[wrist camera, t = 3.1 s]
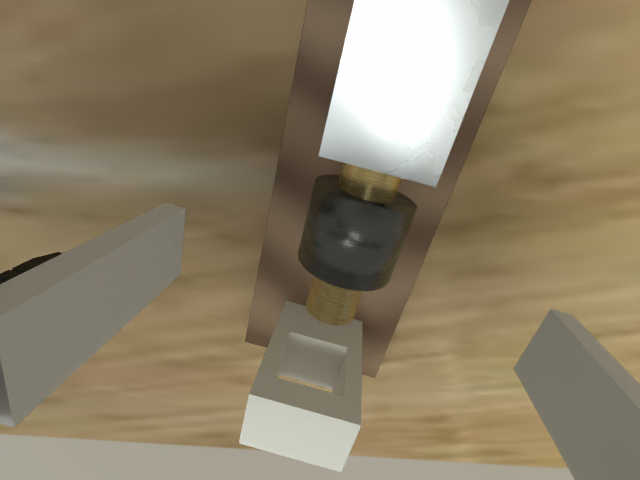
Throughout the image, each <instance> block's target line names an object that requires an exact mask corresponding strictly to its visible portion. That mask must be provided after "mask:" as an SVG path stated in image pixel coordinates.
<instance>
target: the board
mask: <svg viewBox="0 0 640 480" xmlns="http://www.w3.org/2000/svg"><path fill="white" fill-rule="evenodd" d="M354 1H355V0H308V3H307V9H306V14H305V19H304V25H303V30H302V36H301V41H300V46H299V52H298V57H297V63H296V68H295V74H294V79H293V84H292V90H291V95H290V101H289V106H288V112H287V117H286V122H285V128H284V133H283V139H282V144H281V149H280V155H279V160H278V166H277V171H276V177H275V182H274V187H273V193H272V198H271V204H270V209H269V214H268V220H267V225H266V231H265V236H264V242H263V247H262V252H261V258H260V263H259V269H258V274H257V280H256V285H255V290H254V296H253V301H252V307H251V312H250V317H249V323H248V328H247V334H246V339H245V342H248V343H252V344H255V345H259V346H263V347H266V348H267V347H268V345H269V342H270V340H271V337H272V335H273V332H274V330H275V327H276V324H277V322H278V319H279V317H280V314H281V312H282V309H283V307H284V304H285V301H286V300H287V301H290V302H294V303H297V304H301V305H305V306H306V302H307V298H308V294H309V290H310V287H311V283H312V279H313V275H312V274H310V273H309V272H308V271H307V270H306V269H305V268H304V267H303V266H302V265H301V263H300V261H299V259H298V250H299V246H300V242H301V238H302V233H303V229H304V225H305V221H306V216H307V212H308V208H309V204H310V200H311V195H312V191H313V187H314V183H315V179H316V177H318V176H321V175H340V174H341V170H342V166H343V162H339V161H335V160H331V159H328V158H324V157H320V156H319V151H320V147H321V143H322V138H323V134H324V130H325V125H326V121H327V117H328V113H329V108H330V104H331V100H332V95H333V91H334V87H335V82H336V78H337V74H338V70H339V65H340V61H341V57H342V52H343V48H344V44H345V39H346V35H347V31H348V27H349V22H350V18H351V14H352V9H353V5H354ZM530 3H531V0H509V3H508V5H507V8H506V10H505V13H504V15H503V18H502V20H501V23H500V26H499V28H498V31H497V33H496V36H495V38H494V41H493V43H492V46H491V49H490V51H489V54H488V56H487V59H486V61H485V64H484V66H483V69H482V71H481V74H480V77H479V79H478V82H477V84H476V87H475V89H474V92H473V94H472V97H471V99H470V102H469V105H468V107H467V110H466V112H465V115H464V117H463V120H462V122H461V125H460V127H459V130H458V133H457V135H456V138H455V140H454V143H453V145H452V148H451V150H450V153H449V155H448V158H447V161H446V163H445V166H444V168H443V171H442V173H441V176H440V178H439V181H438V183H437V186H436V187H433V186H429V185H425V184H422V183H418V182H414V181H410V180H407V179H403V178H402V180H401V183H400V185H399V188H398V191H397V192H399V193H401V194H403V195H405V196H407V197H408V198H410V199H411V200H412V201H413V202H414V203H415V204H416V205H417V210H416V212H415V215H414V218H413V220H412V223H411V226H410V228H409V231H408V234H407V236H406V239H405V242H404V244H403V247H402V249H401V252H400V255H399V257H398V260H397V263H396V265H395V268H394V271H393V273H392V276H391V278H390V281H389V283H388V284H387V285H386V286H385V287H383V288H381V289H378V290H374V291H363V293H362V296H361V299H360V301H359V304H358V307H357V310H356V313H355V316H354V319H356V320H359V321H362V374H363V375H367V376H370V377H374V378H375V376H376V373H377V371H378V369H379V366H380V364H381V361H382V359H383V357H384V354H385V352H386V349H387V347H388V345H389V342H390V340H391V337H392V335H393V333H394V330H395V328H396V325H397V323H398V321H399V318H400V316H401V313H402V311H403V309H404V306H405V304H406V301H407V299H408V296H409V294H410V292H411V289H412V287H413V284H414V282H415V280H416V277H417V275H418V272H419V270H420V268H421V265H422V263H423V260H424V258H425V256H426V253H427V251H428V248H429V246H430V244H431V241H432V239H433V236H434V234H435V232H436V229H437V227H438V224H439V222H440V219H441V217H442V215H443V212H444V210H445V207H446V205H447V203H448V200H449V198H450V195H451V193H452V191H453V188H454V186H455V183H456V181H457V179H458V176H459V174H460V171H461V169H462V167H463V164H464V162H465V159H466V157H467V154H468V152H469V150H470V147H471V145H472V142H473V140H474V138H475V135H476V133H477V130H478V128H479V126H480V123H481V121H482V118H483V116H484V114H485V111H486V109H487V106H488V104H489V102H490V99H491V97H492V94H493V92H494V90H495V87H496V85H497V82H498V80H499V77H500V75H501V73H502V70H503V68H504V65H505V63H506V61H507V58H508V56H509V53H510V51H511V49H512V46H513V44H514V41H515V39H516V37H517V34H518V32H519V29H520V27H521V25H522V22H523V20H524V17H525V15H526V13H527V10H528V8H529V5H530Z"/></svg>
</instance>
